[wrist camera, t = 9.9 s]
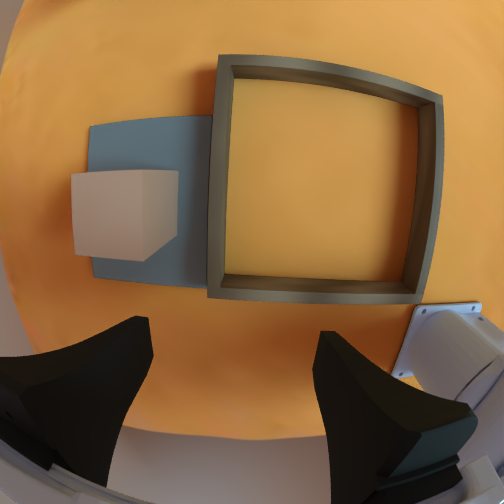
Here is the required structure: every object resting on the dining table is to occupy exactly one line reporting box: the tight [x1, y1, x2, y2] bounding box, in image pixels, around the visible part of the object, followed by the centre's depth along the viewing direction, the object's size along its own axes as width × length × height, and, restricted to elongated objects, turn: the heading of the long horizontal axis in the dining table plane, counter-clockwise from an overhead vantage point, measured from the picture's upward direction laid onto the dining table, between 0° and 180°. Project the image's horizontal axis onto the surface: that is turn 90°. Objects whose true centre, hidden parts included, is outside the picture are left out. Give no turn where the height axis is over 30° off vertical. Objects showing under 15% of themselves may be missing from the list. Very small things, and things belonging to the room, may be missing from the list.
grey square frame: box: [207, 54, 444, 305], centre depth 17 cm, size 16×16×2 cm
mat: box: [88, 115, 213, 289], centre depth 18 cm, size 10×12×1 cm
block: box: [71, 170, 179, 261], centre depth 15 cm, size 4×4×6 cm
